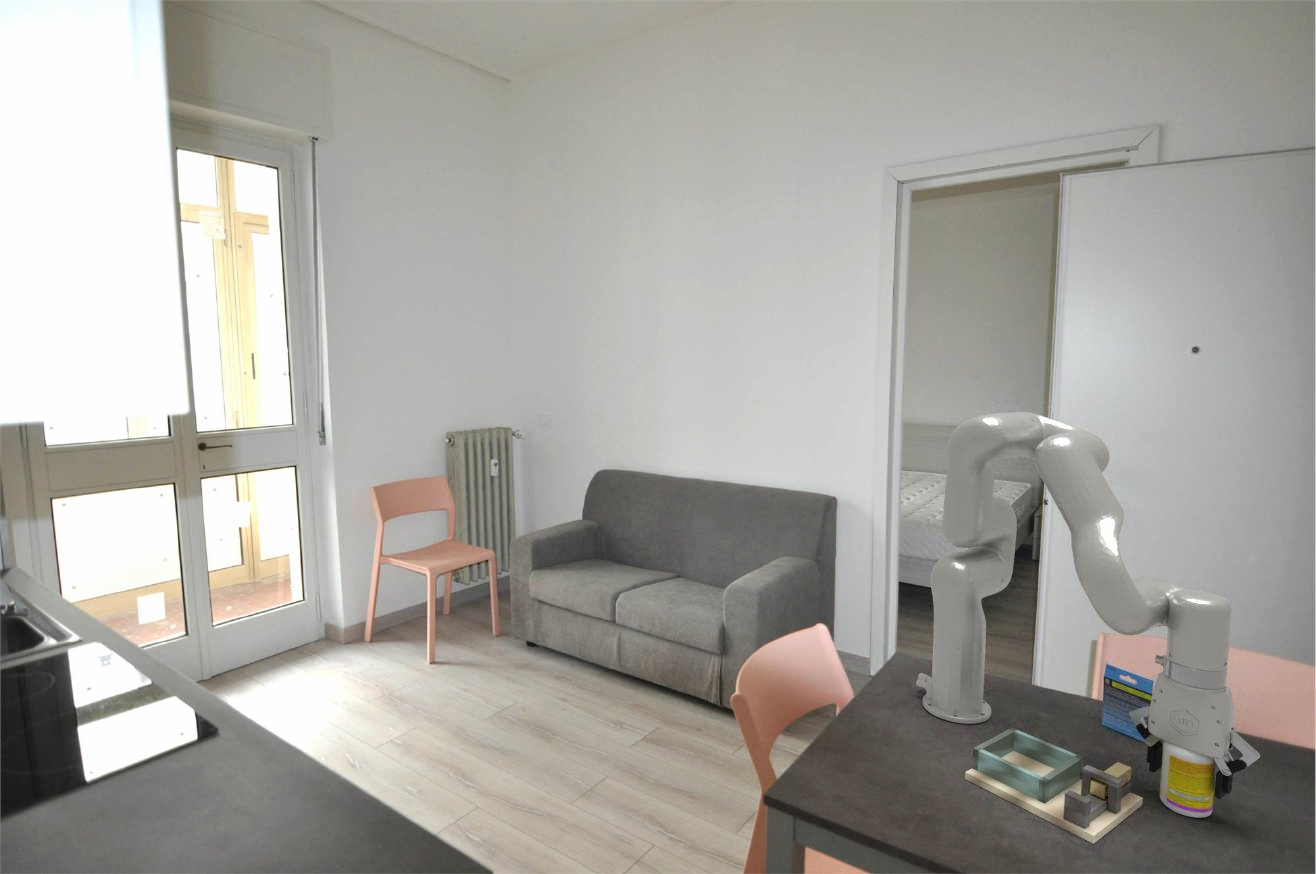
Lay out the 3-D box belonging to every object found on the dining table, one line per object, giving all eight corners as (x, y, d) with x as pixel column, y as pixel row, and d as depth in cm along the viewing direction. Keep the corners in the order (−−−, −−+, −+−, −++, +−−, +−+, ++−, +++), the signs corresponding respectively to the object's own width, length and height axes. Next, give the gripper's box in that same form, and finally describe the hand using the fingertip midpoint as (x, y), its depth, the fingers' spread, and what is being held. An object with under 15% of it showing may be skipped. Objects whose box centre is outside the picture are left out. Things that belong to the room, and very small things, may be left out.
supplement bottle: (1221, 822, 109) (1228, 740, 107) (1171, 817, 110) (1177, 736, 109) (1197, 796, 115) (1203, 719, 114) (1151, 791, 116) (1156, 715, 115)
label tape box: (1161, 741, 132) (1166, 676, 131) (1149, 746, 130) (1153, 680, 129) (1112, 720, 140) (1116, 658, 139) (1099, 725, 138) (1103, 662, 137)
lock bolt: (1090, 792, 111) (1090, 780, 111) (1116, 773, 116) (1117, 761, 116) (1104, 799, 109) (1104, 786, 109) (1130, 779, 114) (1131, 767, 114)
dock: (964, 779, 120) (966, 743, 119) (1016, 749, 129) (1018, 716, 128) (1093, 843, 104) (1096, 803, 103) (1142, 804, 113) (1144, 767, 112)
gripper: (1121, 660, 115) (1114, 764, 117) (1258, 701, 101) (1248, 819, 103) (1141, 649, 120) (1135, 750, 121) (1275, 687, 105) (1266, 801, 107)
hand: (1187, 781), depth 112 cm, fingers open, 8 cm apart
